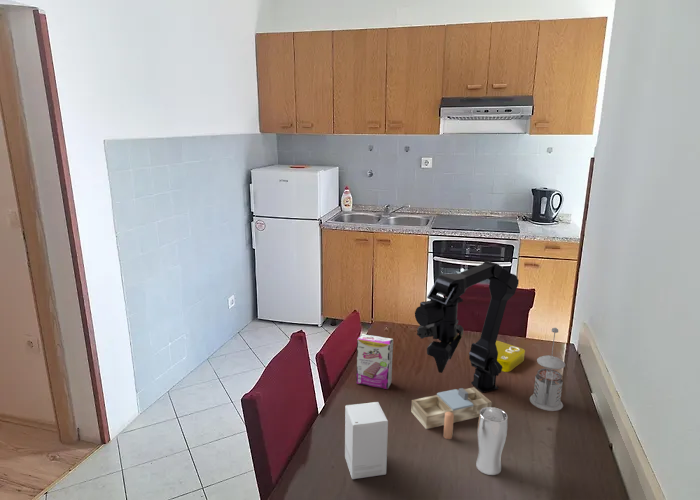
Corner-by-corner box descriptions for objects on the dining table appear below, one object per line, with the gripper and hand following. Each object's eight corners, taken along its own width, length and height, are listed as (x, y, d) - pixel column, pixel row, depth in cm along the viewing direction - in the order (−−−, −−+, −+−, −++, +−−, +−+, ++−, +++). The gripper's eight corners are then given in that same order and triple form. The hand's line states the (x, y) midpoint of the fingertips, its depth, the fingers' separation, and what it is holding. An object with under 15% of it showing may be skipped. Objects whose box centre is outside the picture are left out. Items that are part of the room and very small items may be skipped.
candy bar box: (355, 384, 157) (356, 338, 153) (360, 377, 162) (361, 332, 158) (388, 390, 154) (389, 344, 150) (392, 383, 158) (393, 337, 154)
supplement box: (387, 475, 115) (389, 421, 112) (351, 480, 114) (352, 425, 110) (377, 451, 124) (379, 400, 120) (344, 455, 122) (344, 404, 119)
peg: (449, 433, 132) (450, 410, 130) (453, 438, 130) (455, 415, 128) (441, 434, 131) (443, 412, 130) (446, 440, 129) (447, 417, 127)
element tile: (489, 347, 186) (490, 336, 185) (525, 360, 176) (527, 348, 175) (469, 360, 176) (470, 348, 175) (507, 374, 166) (508, 361, 165)
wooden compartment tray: (473, 398, 149) (473, 387, 148) (490, 414, 141) (491, 402, 140) (411, 411, 142) (411, 400, 141) (426, 429, 134) (426, 416, 133)
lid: (456, 390, 146) (456, 383, 146) (473, 406, 138) (474, 398, 137) (436, 394, 144) (437, 387, 143) (453, 410, 136) (453, 402, 135)
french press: (563, 398, 150) (573, 325, 144) (562, 417, 140) (573, 339, 134) (530, 390, 154) (538, 319, 148) (527, 409, 144) (536, 333, 138)
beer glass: (470, 458, 122) (474, 406, 118) (496, 457, 122) (501, 405, 119) (479, 477, 115) (484, 423, 111) (507, 476, 116) (513, 422, 112)
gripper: (430, 303, 151) (428, 347, 155) (410, 324, 135) (409, 373, 139) (464, 308, 146) (462, 354, 150) (448, 331, 130) (446, 382, 134)
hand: (444, 365), depth 143 cm, fingers open, 9 cm apart
